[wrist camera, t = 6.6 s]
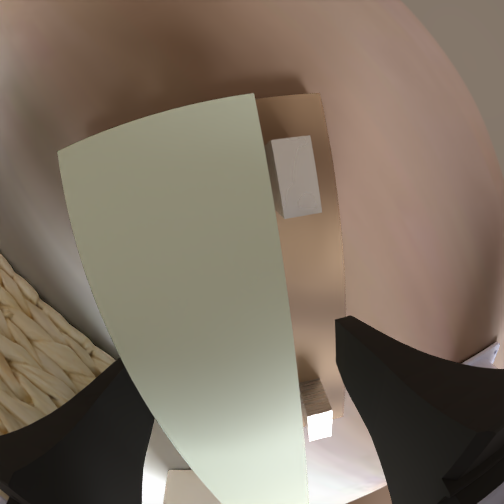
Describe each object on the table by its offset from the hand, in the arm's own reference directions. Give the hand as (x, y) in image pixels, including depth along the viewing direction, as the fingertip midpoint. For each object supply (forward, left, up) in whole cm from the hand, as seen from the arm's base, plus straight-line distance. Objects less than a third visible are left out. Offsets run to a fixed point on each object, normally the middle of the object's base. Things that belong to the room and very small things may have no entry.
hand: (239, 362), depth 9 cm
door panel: (0, 0, -3) cm, 3 cm away
